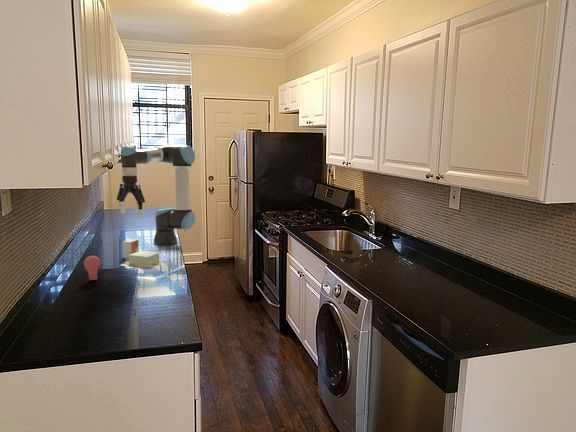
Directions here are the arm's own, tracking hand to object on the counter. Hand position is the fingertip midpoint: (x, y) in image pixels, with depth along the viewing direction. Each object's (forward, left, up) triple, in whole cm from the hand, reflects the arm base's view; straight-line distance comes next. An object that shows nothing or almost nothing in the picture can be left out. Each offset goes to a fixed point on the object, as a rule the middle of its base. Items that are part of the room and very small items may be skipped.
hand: (131, 214), depth 238 cm
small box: (-6, -7, -27) cm, 29 cm away
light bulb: (+35, +4, -27) cm, 44 cm away
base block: (+3, +9, -26) cm, 27 cm away
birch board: (+3, +9, -27) cm, 29 cm away
